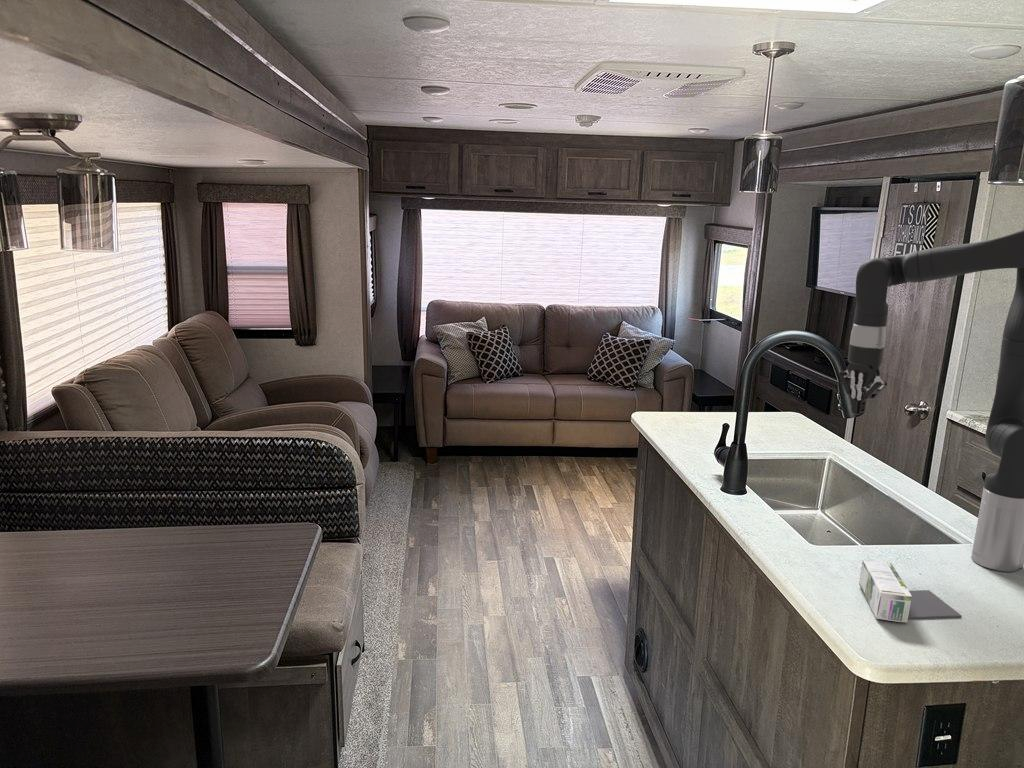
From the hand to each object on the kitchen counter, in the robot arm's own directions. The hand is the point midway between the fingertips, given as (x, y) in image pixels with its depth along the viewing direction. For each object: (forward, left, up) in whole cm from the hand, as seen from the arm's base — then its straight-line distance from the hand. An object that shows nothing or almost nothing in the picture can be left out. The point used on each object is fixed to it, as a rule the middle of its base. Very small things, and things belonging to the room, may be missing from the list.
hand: (857, 414), depth 183 cm
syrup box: (+11, +31, -26) cm, 42 cm away
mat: (+7, +39, -29) cm, 49 cm away
